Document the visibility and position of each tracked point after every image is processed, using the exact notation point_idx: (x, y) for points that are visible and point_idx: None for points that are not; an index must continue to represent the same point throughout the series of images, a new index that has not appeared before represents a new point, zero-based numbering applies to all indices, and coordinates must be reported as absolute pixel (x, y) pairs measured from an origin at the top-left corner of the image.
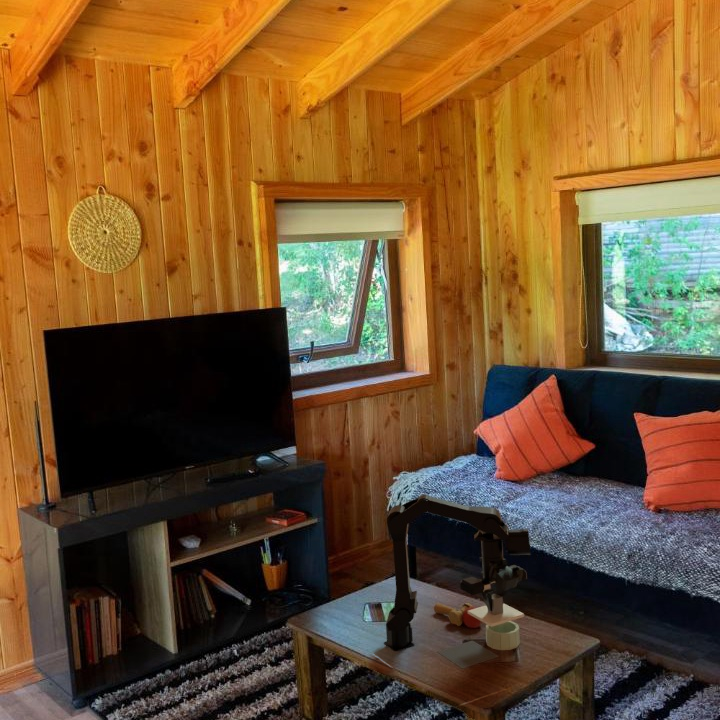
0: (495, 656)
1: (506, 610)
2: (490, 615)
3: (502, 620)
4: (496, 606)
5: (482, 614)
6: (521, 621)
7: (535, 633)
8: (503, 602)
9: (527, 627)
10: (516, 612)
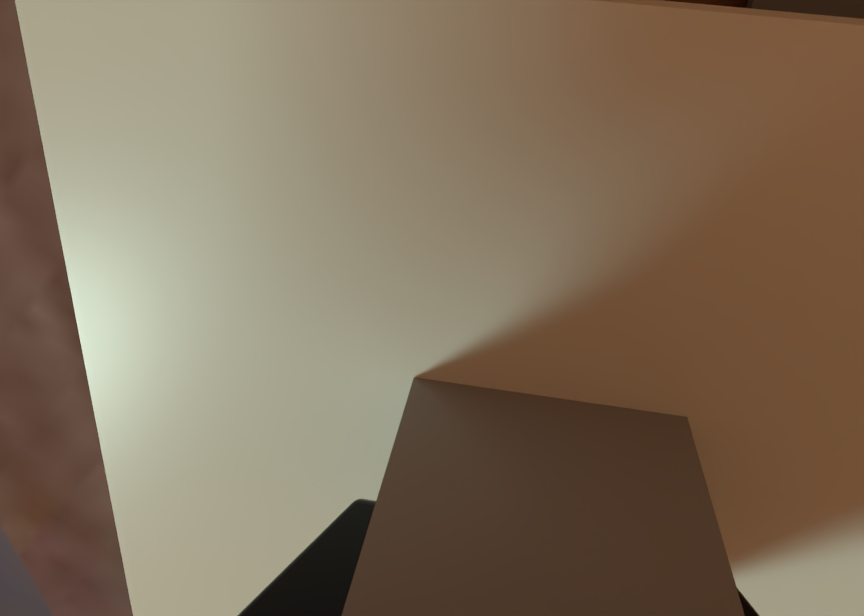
0: (791, 9)
1: (277, 404)
2: (755, 471)
3: (839, 28)
4: (629, 575)
5: (825, 605)
6: (19, 422)
7: (18, 177)
8: (271, 591)
9: (27, 316)
10: (144, 167)
